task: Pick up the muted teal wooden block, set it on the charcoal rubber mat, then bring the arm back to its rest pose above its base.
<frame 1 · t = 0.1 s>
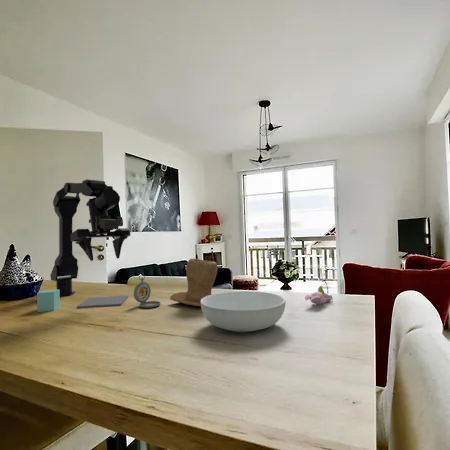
hand: (105, 259, 108), 15 cm above the table, tool pointing down, fingers open, 9 cm apart
pocket watch: (148, 306, 106), on the table
tan curved piece: (197, 304, 106), on the table
teal block: (49, 309, 106), on the table
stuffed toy: (319, 305, 100), on the table
serving bowl: (243, 327, 80), on the table
charcoal mat: (104, 302, 114), on the table
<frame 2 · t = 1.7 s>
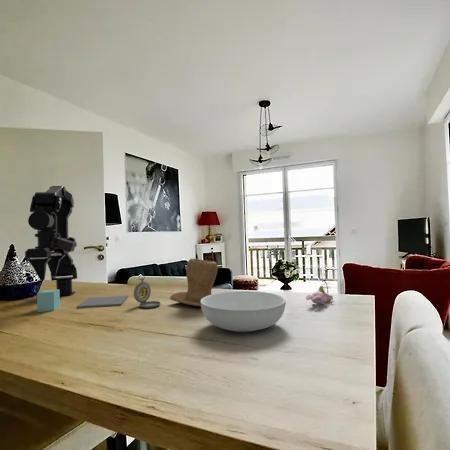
hand: (48, 278, 106), 10 cm above the table, tool pointing down, fingers open, 9 cm apart
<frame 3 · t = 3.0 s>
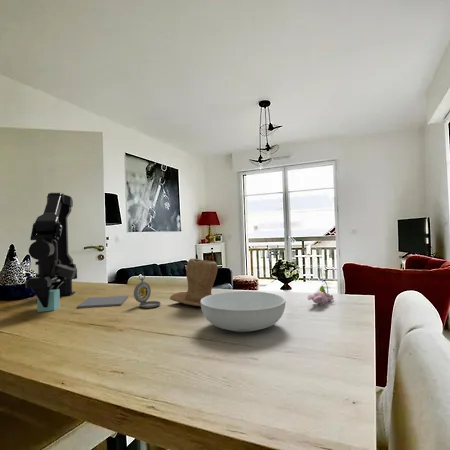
hand: (48, 305, 106), 1 cm above the table, tool pointing down, fingers closed on teal block, 5 cm apart
teal block: (49, 309, 106), on the table, touching gripper
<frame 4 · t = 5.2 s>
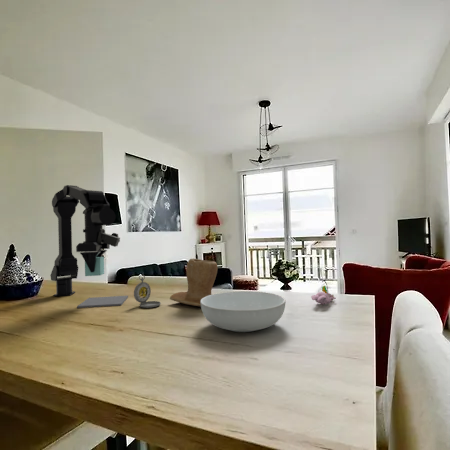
hand: (94, 271, 112), 11 cm above the table, tool pointing down, fingers closed on teal block, 5 cm apart
teal block: (94, 274, 112), point 10 cm above the table, touching gripper
when the fingers open (3 cm above the table, at t = 7.3 s): teal block drops 1 cm, resting on charcoal mat.
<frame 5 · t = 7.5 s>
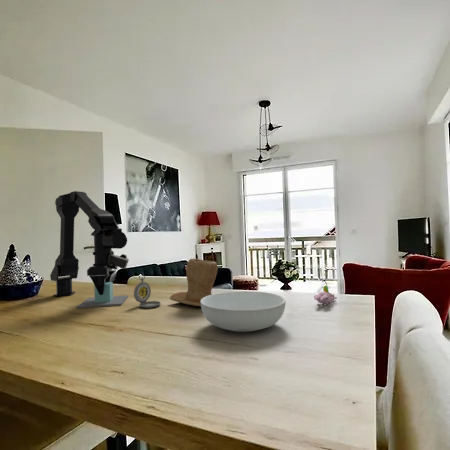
hand: (104, 292, 114), 3 cm above the table, tool pointing down, fingers open, 7 cm apart
teal block: (104, 300, 114), point 1 cm above the table, touching charcoal mat
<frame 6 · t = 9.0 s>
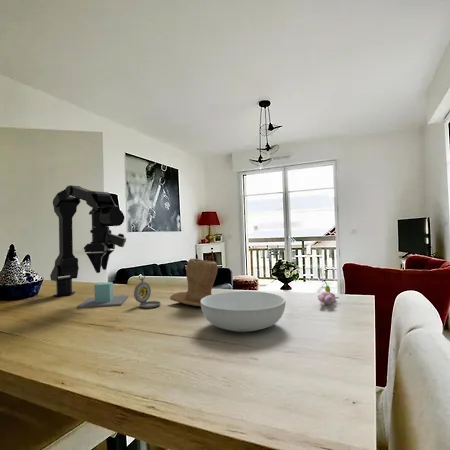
hand: (101, 271, 114), 11 cm above the table, tool pointing down, fingers open, 9 cm apart
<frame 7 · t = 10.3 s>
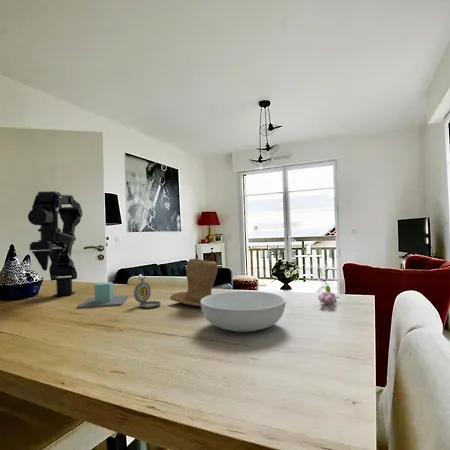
hand: (50, 268, 117), 12 cm above the table, tool pointing down, fingers open, 9 cm apart
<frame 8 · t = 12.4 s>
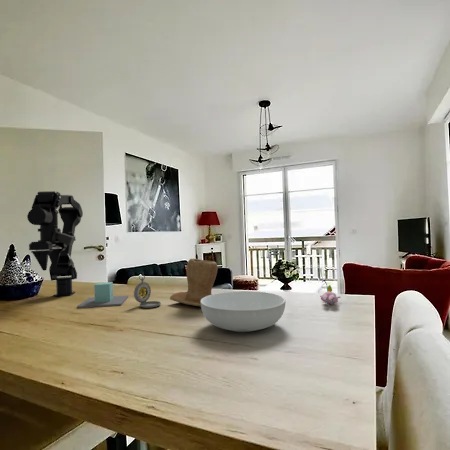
hand: (49, 268, 117), 12 cm above the table, tool pointing down, fingers open, 9 cm apart
at the end: teal block inside the target area on the charcoal mat (0.0 cm from its centre), point 0.6 cm above the charcoal mat's base; teal block tilted 0°; the gripper is holding nothing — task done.
